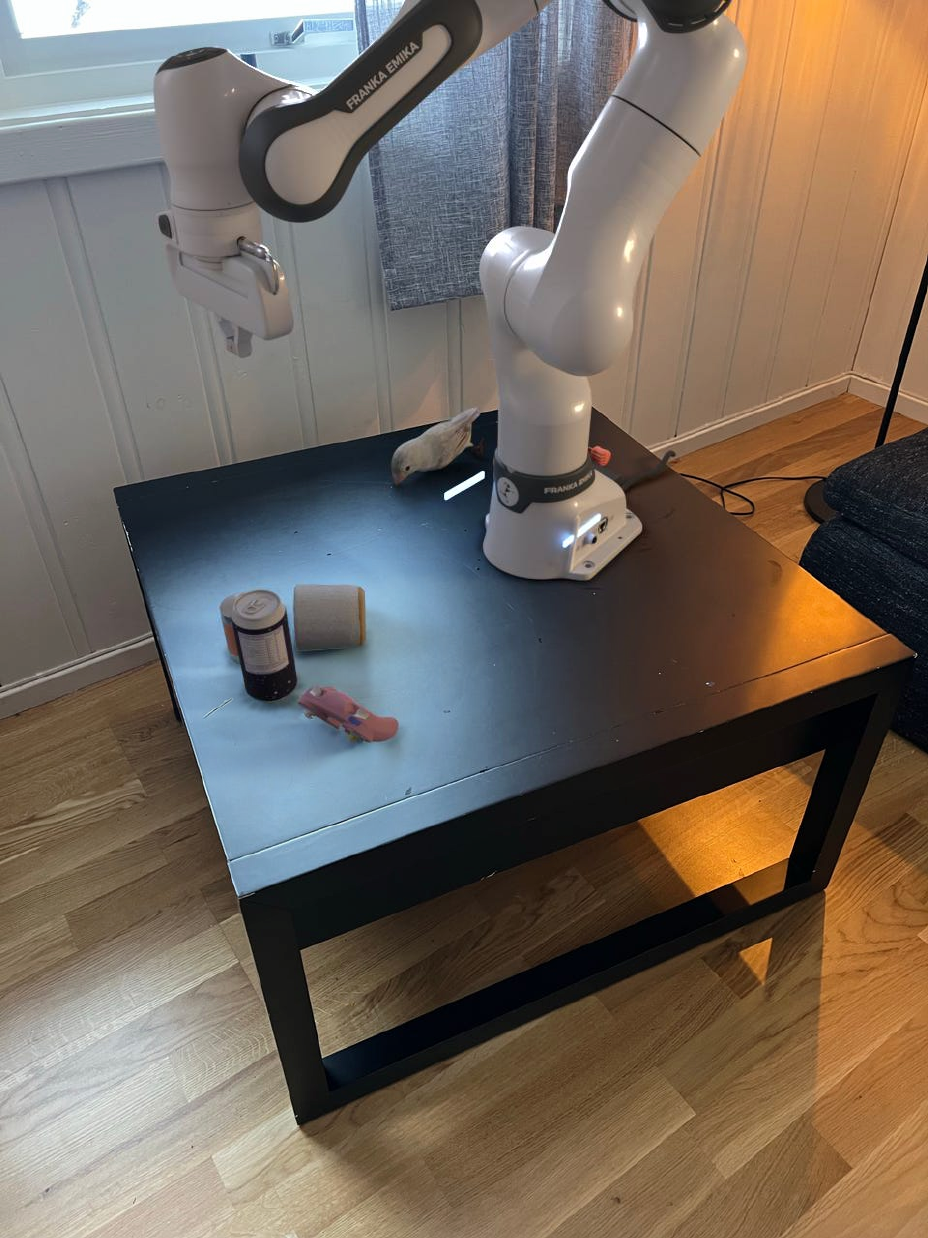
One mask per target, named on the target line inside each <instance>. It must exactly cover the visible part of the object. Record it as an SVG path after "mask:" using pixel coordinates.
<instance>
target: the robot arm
mask: <svg viewBox="0 0 928 1238" xmlns="http://www.w3.org/2000/svg"><path fill="white" fill-rule="evenodd" d="M553 1H554V0H403V2H402V5H401V7H400V9H399V10H398V11H397V13H396V16H395V17H394V18H393V20H392V21H391V23H390V24H389V25H388V26H387V28H386V29H385V30H384V31H383V32H382V33H381V34H380V35H379V37H377V38H376V39H375V40H374V41H373V42H372V43H371V44H370V45H369V46H367V47H366V48H365V50H363V51H362V52H361V53H360V54H359V55H358V56H357V57H356V58H354V59H353V61H352V62H350V63H349V64H348V65H347V66H346V67H345V68H344V69H342V71H341V72H340V73H338V74H337V75H336V76H335V77H334V78H333V79H332V80H331V81H330V82H329V83H328V84H327V85H326V86H324V87H323V88H322V89H320V90H319V91H317V90H315V89H313V88H312V87H309V86H306V85H303V84H301V83H296V82H293V81H291V80H290V81H289V80H286V79H283V78H280V77H276V76H273V75H271V74H268V73H266V72H264V71H262V70H260V69H258V68H256V67H254V66H252V65H250V64H248V63H247V62H245V61H244V60H242V59H240V58H239V57H238V56H236V54H234V53H232V52H231V50H229V49H228V48H226V47H222V46H203V47H197V48H193V49H188V50H185V51H182V52H179V53H177V54H175V55H172V56H170V57H169V58H167V59H165V61H164V62H162V64H160V66H158V67H159V68H158V69H157V72H155V75H154V77H153V89H152V90H153V105H154V115H155V122H156V129H157V135H158V140H159V147H160V153H161V156H162V159H163V161H164V164H165V166H166V168H167V170H168V174H169V179H170V192H169V199H170V205H171V209H169V210H164V211H161V212H158V213H156V214H155V217H154V219H155V224H156V228H157V231H158V233H159V235H161V236H163V247H164V252H165V258H166V262H167V266H168V270H169V274H170V278H171V281H172V284H173V285H174V287H175V289H176V291H177V293H178V295H180V296H182V297H184V298H186V299H188V300H189V301H191V302H193V303H194V304H197V305H199V306H201V307H203V308H204V309H206V310H208V311H210V312H211V313H213V316H214V317H213V318H214V321H215V323H216V325H217V327H218V329H219V331H220V333H221V335H222V337H223V342H224V347H225V350H226V351H228V352H229V353H231V354H233V355H235V356H237V357H238V358H241V359H244V358H247V357H250V356H251V355H252V354H253V346H252V338H253V335H254V336H256V337H258V338H260V339H262V340H264V341H272V340H275V339H276V340H277V339H279V338H282V337H285V336H287V335H290V334H291V333H292V331H293V328H294V325H295V322H294V321H295V320H294V313H293V308H292V303H291V298H290V294H289V288H288V284H287V279H286V276H285V274H284V271H283V269H282V267H281V266H280V264H279V263H278V262H277V261H276V260H274V258H273V257H272V255H271V254H270V250H269V249H268V248H267V247H266V246H264V245H263V243H264V233H263V227H262V221H261V220H262V219H261V211H260V208H261V210H263V211H264V212H265V213H267V214H268V215H270V216H272V217H273V218H275V219H278V220H281V221H285V222H287V223H295V224H296V223H297V224H303V223H310V222H314V221H317V220H319V219H322V218H323V217H325V216H326V215H328V214H329V213H331V212H332V211H333V210H334V209H335V208H336V207H337V206H338V205H339V203H340V202H341V201H342V200H343V198H344V196H345V194H346V192H347V190H348V188H349V186H350V183H351V182H352V179H353V177H354V175H355V173H356V171H357V169H358V167H359V165H360V164H361V162H362V160H363V159H364V157H365V156H366V155H367V154H368V153H369V152H370V151H371V149H373V148H374V146H375V145H377V144H378V142H379V141H381V140H382V139H383V138H384V137H385V136H386V135H387V134H389V133H390V132H391V130H393V129H394V128H395V127H396V126H397V125H398V124H399V123H400V122H401V121H402V120H403V119H405V118H406V117H407V116H408V115H409V114H410V113H412V111H413V110H414V109H416V108H417V107H418V106H419V105H420V104H421V103H422V102H424V101H425V100H426V99H427V98H428V97H429V96H430V95H431V94H432V93H433V92H435V90H436V89H437V88H438V87H440V86H441V85H442V84H443V83H444V82H445V81H447V80H448V79H450V77H452V76H454V75H455V74H457V73H458V72H459V71H460V70H462V69H464V68H465V67H466V66H467V65H469V64H470V63H472V62H473V61H475V60H476V59H478V58H479V57H481V56H482V55H484V54H486V53H487V52H489V51H490V50H492V49H493V48H494V47H497V45H499V44H500V43H502V42H503V41H505V40H506V39H507V38H509V37H511V35H513V34H514V33H516V32H517V31H518V30H520V29H521V28H522V27H523V26H525V25H526V24H527V23H529V22H530V21H531V20H532V19H533V18H535V17H536V16H537V15H538V14H539V13H540V12H542V11H543V10H544V9H545V8H546V7H548V6H549V5H550V4H551V3H552V2H553ZM601 1H602V3H604V4H605V5H606V7H607V8H609V9H610V10H611V11H612V12H614V13H615V14H616V15H618V16H619V17H621V18H622V19H624V20H626V21H629V22H633V23H635V24H636V23H637V30H638V31H637V32H638V33H637V40H636V44H635V45H636V46H635V48H634V52H633V55H632V57H631V60H630V62H629V65H628V67H627V69H626V71H625V72H624V74H623V75H622V77H621V79H620V80H619V82H617V83H618V84H617V85H616V86H615V88H614V90H613V91H612V93H611V96H610V97H609V98H608V100H607V101H606V103H605V105H604V106H603V108H602V110H601V112H600V113H599V115H598V117H597V118H596V121H595V122H594V124H593V126H592V127H591V129H590V131H589V133H588V134H587V136H586V137H585V139H584V141H583V142H582V144H581V146H580V148H579V149H578V151H577V153H576V154H575V156H574V158H573V159H572V161H571V163H570V165H569V168H568V171H567V178H566V182H567V183H566V184H567V185H566V186H567V192H566V196H565V197H566V198H565V202H564V206H563V209H562V213H561V216H560V219H559V222H558V224H557V225H558V226H557V228H556V231H555V233H554V232H551V231H549V230H546V229H542V228H537V227H532V226H524V225H517V226H511V227H509V228H506V229H504V230H502V231H500V232H499V233H498V234H496V235H495V236H494V237H493V238H492V239H490V242H489V243H488V244H487V245H486V247H485V249H484V250H483V253H482V254H481V258H480V262H479V268H478V276H479V282H480V286H481V289H482V293H483V297H484V301H485V306H486V313H487V318H488V319H487V321H488V329H489V330H488V331H489V339H490V345H491V353H492V360H493V365H494V372H495V378H496V385H497V386H496V387H497V398H498V399H497V403H498V407H497V447H496V448H495V450H494V453H493V454H494V455H493V459H492V460H493V461H492V464H493V473H492V474H493V476H492V477H493V484H492V493H491V499H490V506H489V513H487V514H486V516H485V521H484V525H485V530H486V531H485V532H486V533H485V535H484V539H483V543H482V550H483V553H484V556H485V557H486V559H487V560H488V561H489V563H491V564H492V565H493V566H494V567H495V568H497V569H499V570H501V571H502V572H504V573H507V574H509V575H511V576H515V577H519V578H524V579H531V580H555V579H566V580H567V579H568V580H572V581H573V580H575V581H581V582H583V581H590V580H591V579H592V578H594V577H595V576H596V575H597V574H598V573H599V572H600V571H601V570H602V569H603V568H605V567H606V566H607V565H608V564H609V563H610V562H611V561H612V560H613V559H614V558H615V557H616V556H617V555H618V554H619V553H620V552H622V551H623V550H624V549H625V548H626V547H627V546H628V545H629V544H630V543H631V542H632V541H634V539H636V538H637V537H638V536H639V535H640V534H641V533H642V532H643V524H642V522H641V520H640V518H639V517H637V515H636V514H634V512H632V511H631V510H629V508H627V499H626V494H625V491H627V490H628V489H630V488H631V487H632V486H633V485H634V484H635V483H637V482H640V481H642V480H645V479H648V478H651V477H654V476H656V475H657V474H659V473H660V472H661V471H662V470H663V469H664V468H665V466H666V465H667V463H668V462H669V460H670V458H674V457H676V456H677V453H676V452H675V451H674V450H671V449H670V450H668V451H666V452H665V454H664V455H663V457H662V458H661V460H660V462H659V463H658V465H657V466H656V467H655V468H653V469H651V470H649V471H647V472H643V473H640V474H638V475H635V476H633V477H631V478H630V479H628V480H627V481H626V482H625V483H624V484H622V485H621V483H622V474H620V473H618V472H615V471H614V470H613V471H612V470H610V469H608V468H605V467H604V466H606V465H607V464H608V463H609V461H610V459H611V456H612V455H611V452H610V451H609V450H608V449H604V448H602V447H601V446H599V445H596V446H594V447H593V448H592V447H590V446H589V440H590V439H589V438H590V429H591V416H592V405H593V395H592V390H591V386H590V383H589V381H588V377H591V376H595V375H599V374H601V373H602V372H604V371H606V370H607V369H609V368H610V367H612V366H613V365H614V364H615V363H616V362H618V361H619V359H620V358H621V357H622V356H623V354H624V353H625V351H626V350H627V348H628V346H629V344H630V341H631V339H632V336H633V331H634V309H633V308H634V305H633V304H634V296H635V291H636V287H637V283H638V281H639V276H640V273H641V270H642V267H643V264H644V261H645V259H646V255H647V253H648V250H649V247H650V246H651V242H652V240H653V238H654V236H655V234H656V231H657V229H658V227H659V226H660V224H661V222H662V220H663V218H664V216H665V215H666V213H667V211H668V210H669V208H670V207H671V205H672V204H673V202H674V200H675V199H676V197H677V195H678V194H679V192H680V190H681V189H682V187H683V186H684V184H685V182H686V181H687V179H688V178H689V176H690V175H691V173H692V171H693V170H694V169H695V167H696V165H697V164H698V162H699V160H700V158H701V157H702V156H703V154H704V152H705V151H706V149H707V147H708V146H709V144H710V143H711V141H712V139H713V137H714V135H716V132H717V131H718V129H719V127H720V125H721V123H722V122H723V119H724V118H725V115H726V113H727V111H728V109H729V108H730V105H731V103H732V101H733V99H734V98H735V97H734V96H735V95H736V92H737V90H738V88H739V85H740V83H741V81H742V78H743V76H744V73H745V70H746V67H747V62H748V49H747V45H746V42H745V38H744V37H743V35H742V33H741V31H740V29H739V28H738V26H737V25H736V24H735V23H734V22H733V21H732V20H731V18H729V17H728V16H727V15H725V13H724V12H726V10H727V9H728V8H729V6H730V5H731V3H732V0H601ZM723 1H724V2H723ZM722 3H723V4H722ZM593 462H595V463H597V464H595V463H593ZM483 479H485V471H484V470H483V471H480V472H478V473H477V474H475V475H474V476H472V477H470V478H468V479H467V480H465V481H463V482H462V483H460V484H458V485H456V486H454V487H453V488H451V489H449V490H447V491H446V492H445V493H444V500H445V501H447V500H449V499H451V498H452V497H454V496H455V495H457V494H459V493H462V491H465V490H466V489H469V488H470V487H471V486H473V485H475V484H476V483H478V482H480V481H482V480H483Z"/></svg>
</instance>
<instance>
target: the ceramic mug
mask: <svg viewBox="0 0 928 1238" xmlns="http://www.w3.org/2000/svg"><path fill="white" fill-rule="evenodd" d="M366 609H367V608H366V592H365V590H364V588H363V587H361V586H359V585H354V584H353V585H352V584H315V583H313V584H311V583H297V584H295V585H294V587H293V599H292V616H293V618H292V619H293V620H292V621H293V622H292V623H293V636H294V645H295V650H296V651H299V652H304V651H307V652H308V651H322V650H323V651H324V650H336V649H337V650H339V649H352V648H357V647H361V646H364V644H365V643H366V642H367V615H366V612H367V611H366Z"/></svg>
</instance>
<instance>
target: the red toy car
mask: <svg viewBox="0 0 928 1238" xmlns="http://www.w3.org/2000/svg"><path fill="white" fill-rule="evenodd" d="M297 704H298V705H299V706H300V707H301V708H303V709H304V711H303V712H302V713H303V715H304V717H305V718H307V719H308V720H314V719H315V718H314V717H317V718H318V719H319V720H321V721H323V722H324V723H325V724H327V725H328V726H330V727H332V728H334V729H336V730H340V728H341V727H342V728H343V729H344V730H343V732H344V733H345V734H347V735H348V738H349V740H351V741H354V742H355V741H359V742H361V743H363V742H365V743H368V744H371V743H381V742H385V741H387V740H390V739H391V738H393V737H395V735H396V734H397V733H398V730H399V727H400V726H399V720H398V719H397V718H396V717H393V716H379V715H376V714H375V713H373V712H372V711H371V710H369V709H368V708H366V707H364V706H363V705H361V704H358V703H357V702H356V701H354V699H353V698H352V697H350V695H348V694H346V693H345V692H343V691H342V692H341V691H338V690H337V689H336V688H334V687H333V686H319V685H312V686H310V687H309V688H307V689H306V690H305V691H304V693H303V694H302V695H301V696H300V697H299V698H298V700H297Z"/></svg>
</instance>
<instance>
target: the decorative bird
mask: <svg viewBox="0 0 928 1238" xmlns="http://www.w3.org/2000/svg"><path fill="white" fill-rule="evenodd" d="M480 415H481V412H480V411H479V408H478V406H474V407H470V408H468V409H466V410H464V411H463V412H460V413H458V414H457V415H456V416H455V417H453V418H451V419H447V420H444V421H441V422H440V423H437V424H435V425H433V426H432V427H430V428H429V429H426V431H424V432H423V433H422V434H421V435H420V436H417V437H416V438H413V439H411V440H408V441H405V442H404V443H403V444H401V445H400V446H398V447H397V449H396V450H395V451H394V453H393V456H392V459H391V464H390V469H391V474H392V479H393V481H394V484H395V485H396V486H398V485H400V484H401V483H402V482H403V481H404V480H405V479H406V478H407V477H408V476H409V475H411V474H412V473H414V472H421V473H424V472H430V471H437V470H441V469H444V468H445V467H446V466H448V465H449V464H450V463H451V462H453V460H454V459H456V458H457V457H458V456H459V455H460V454H461V453H463V451H464V450H467V448H469V450H472V448H473V449H475V450H474V451H473V453H474V454H475V453H476V457H477V458H479V454H480V456H481V457H484V455H483V441H484V438H482V439H481V440H480V442H479V445H478V446H475V445H474V443H472V442H471V441H472V439H471V437H472V423H473V422H474V421H475V420H476V419H477V418H479V417H480ZM471 447H472V448H471Z"/></svg>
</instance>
